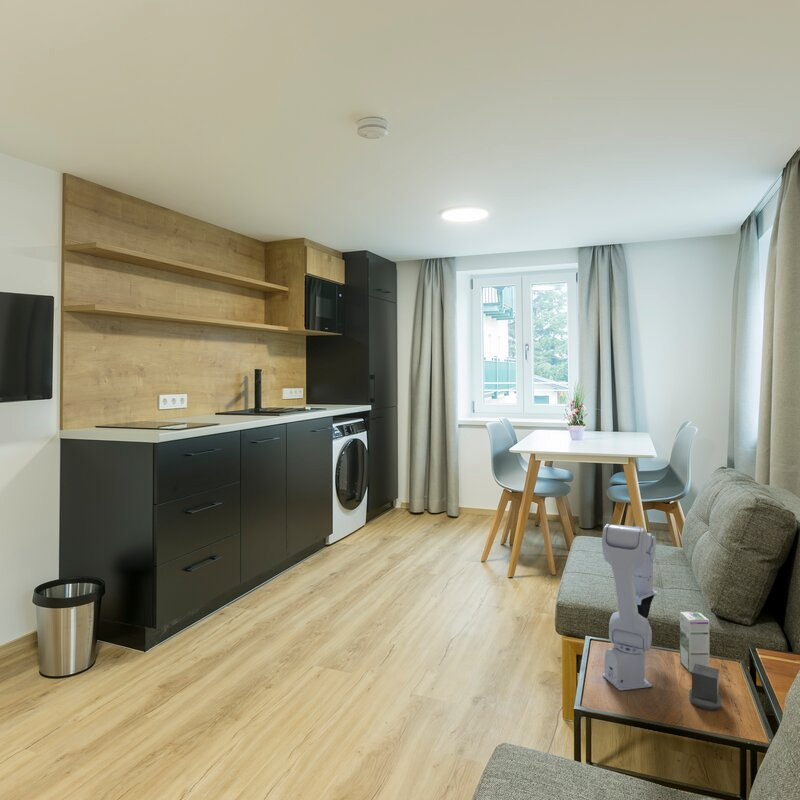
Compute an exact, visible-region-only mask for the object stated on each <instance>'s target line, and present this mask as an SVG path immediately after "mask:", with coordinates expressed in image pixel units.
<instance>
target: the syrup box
mask: <svg viewBox="0 0 800 800" xmlns="http://www.w3.org/2000/svg"><path fill="white" fill-rule="evenodd" d="M679 663H680V664H681V665H682V666H683V667H684V668H685V669H686V670H687V671H688V672H689V673H692V671H693V668H694V664H699V665H703V666H707V667H710V619H708V618H707V617H706V616H705V615H704V614H702V613H701V612H700V611H680V613H679Z"/></svg>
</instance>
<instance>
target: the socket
mask: <svg viewBox="0 0 800 800" xmlns="http://www.w3.org/2000/svg"><path fill="white" fill-rule="evenodd" d="M691 689H692V697H695V698H698V699H702V700H706V701H709V702H713V703H717V700H718V695H720V669H719V668H715V667H711V666H709V667H707V666H703V665H699V664H694V668H693V671H692V672H691Z"/></svg>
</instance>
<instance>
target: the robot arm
mask: <svg viewBox="0 0 800 800" xmlns="http://www.w3.org/2000/svg"><path fill="white" fill-rule="evenodd" d="M601 534H602V535H601V546H602V554H603V557H604V561H605V562H607V564H608V565H610V566H611V570H612V575H613V579H614V587H615V588H614V589H615V597H616V603H617V611H615V612H613V613H612V614H611V616H610V618H609V623H608V639H609V641H610V643H611V644H613V647H611V648H608V649H606V651H605V653H604V673H603V674H602V676H603V677H604V678H605V679H606V680H608V682H609V683H611V685H613V686H614V688H616V689H617V690H618V691H627V690H628V691H629V690H637V689H643V688H644V689H645V688H651V687H653V684H652V683H650V682H649V681H648V680H647V679H645V675H646V674H645V672H646V668H645V667H646V665H645V664H646V663H645V662H646V652H649V650H650V649H651V647H652V641H653V631H652V630H653V629H652V628H651V626H650V625H651V624H650V622H649V620H648V617H649V615H650V609H651V605H652V601H653V599H654V598H655V596H657V595H658V591H657V590H654V589H653V588H654V561H655V553H656V552H655V551H656V549H657V548H656V546H657V539H656V535H653V533H651V532H648V531H647V530H646V529H645V528H643V526H639V525H636V526H631V525H625V524H623V525H622V524H620V525H619V524H610V523H606V524H605V525H604V526H603V528H602V533H601Z"/></svg>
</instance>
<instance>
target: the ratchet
mask: <svg viewBox="0 0 800 800" xmlns="http://www.w3.org/2000/svg"><path fill="white" fill-rule="evenodd" d="M688 692H689V693H688V695H689V696H688V699H689V702H690V704H692V705H693V706H694V707H695V708H698V709H699V710H700V709H701V710H703V711H709V712H717V711H718V712H719V711H720V710H721V709H722V708H723V706H722V703H723V702H722V701H723V699H722V696H721V695H720V694H719V695H718V700H717V703H713V702H709V701H706V700H702V699H698V698H695V697H692V688H690V689H689V691H688Z"/></svg>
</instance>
